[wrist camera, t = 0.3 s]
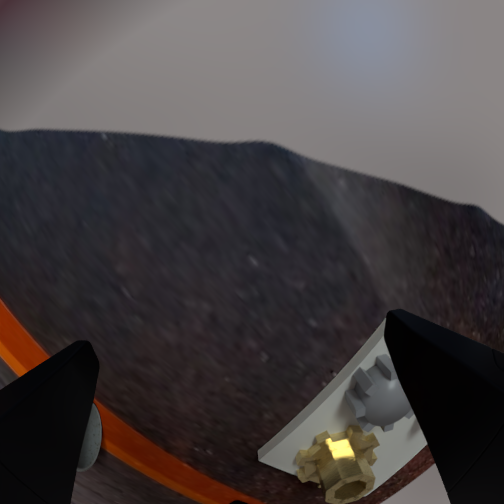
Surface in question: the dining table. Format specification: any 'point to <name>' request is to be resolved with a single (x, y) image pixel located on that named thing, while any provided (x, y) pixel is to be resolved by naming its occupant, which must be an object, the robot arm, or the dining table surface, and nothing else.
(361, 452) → the gear
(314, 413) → the carrier
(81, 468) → the ceramic mug
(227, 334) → the dining table surface
